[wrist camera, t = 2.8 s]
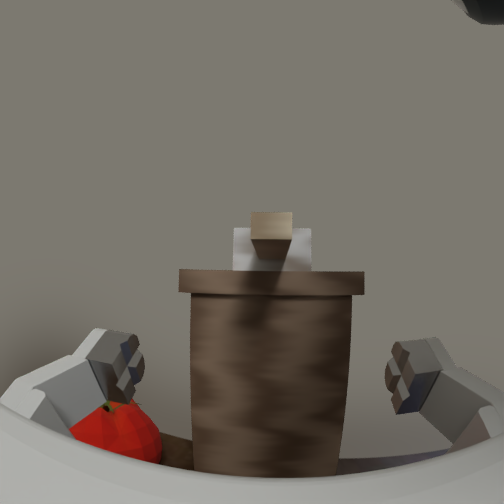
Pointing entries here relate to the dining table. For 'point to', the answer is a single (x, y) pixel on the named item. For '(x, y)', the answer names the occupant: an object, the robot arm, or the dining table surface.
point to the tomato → (121, 431)
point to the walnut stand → (269, 369)
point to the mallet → (271, 244)
